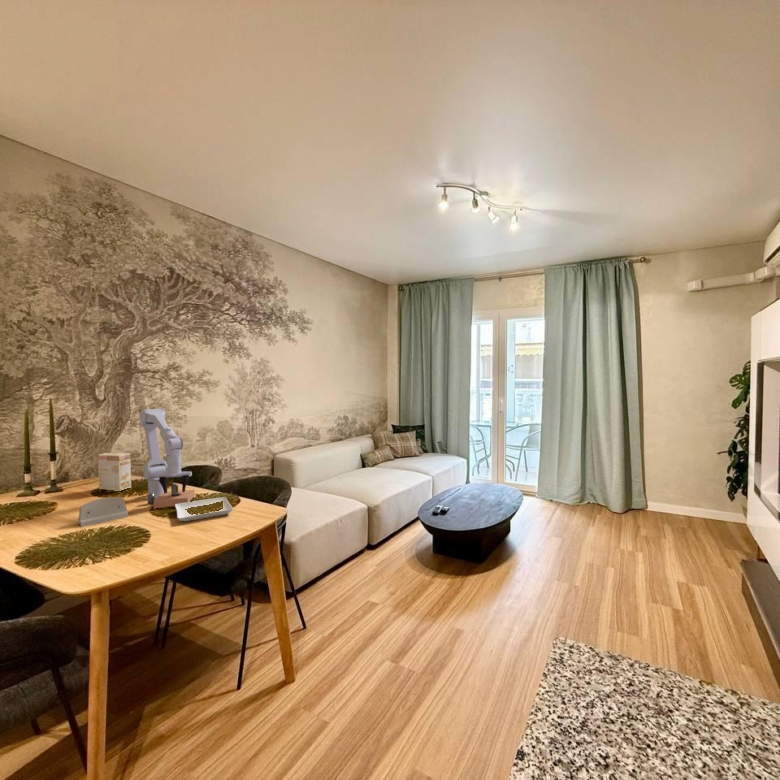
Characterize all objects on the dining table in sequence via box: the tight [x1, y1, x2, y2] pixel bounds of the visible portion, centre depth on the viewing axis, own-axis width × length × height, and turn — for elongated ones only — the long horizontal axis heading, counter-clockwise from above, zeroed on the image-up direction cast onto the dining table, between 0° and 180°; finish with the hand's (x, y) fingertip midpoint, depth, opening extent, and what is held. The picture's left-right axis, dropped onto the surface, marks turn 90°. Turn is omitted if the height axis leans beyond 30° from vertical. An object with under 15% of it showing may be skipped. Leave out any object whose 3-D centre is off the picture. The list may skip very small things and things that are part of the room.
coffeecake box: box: [97, 452, 132, 491], centre depth 211 cm, size 15×7×20 cm, turn 72°
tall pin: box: [170, 483, 179, 496], centre depth 186 cm, size 3×3×9 cm
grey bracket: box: [78, 496, 129, 528], centre depth 165 cm, size 17×5×10 cm, turn 136°
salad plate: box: [175, 496, 234, 522], centre depth 172 cm, size 21×21×3 cm
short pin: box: [146, 493, 156, 505], centre depth 186 cm, size 3×3×4 cm
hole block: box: [153, 489, 196, 510], centre depth 186 cm, size 14×14×4 cm
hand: (174, 492), depth 186 cm, fingers open, 7 cm apart
